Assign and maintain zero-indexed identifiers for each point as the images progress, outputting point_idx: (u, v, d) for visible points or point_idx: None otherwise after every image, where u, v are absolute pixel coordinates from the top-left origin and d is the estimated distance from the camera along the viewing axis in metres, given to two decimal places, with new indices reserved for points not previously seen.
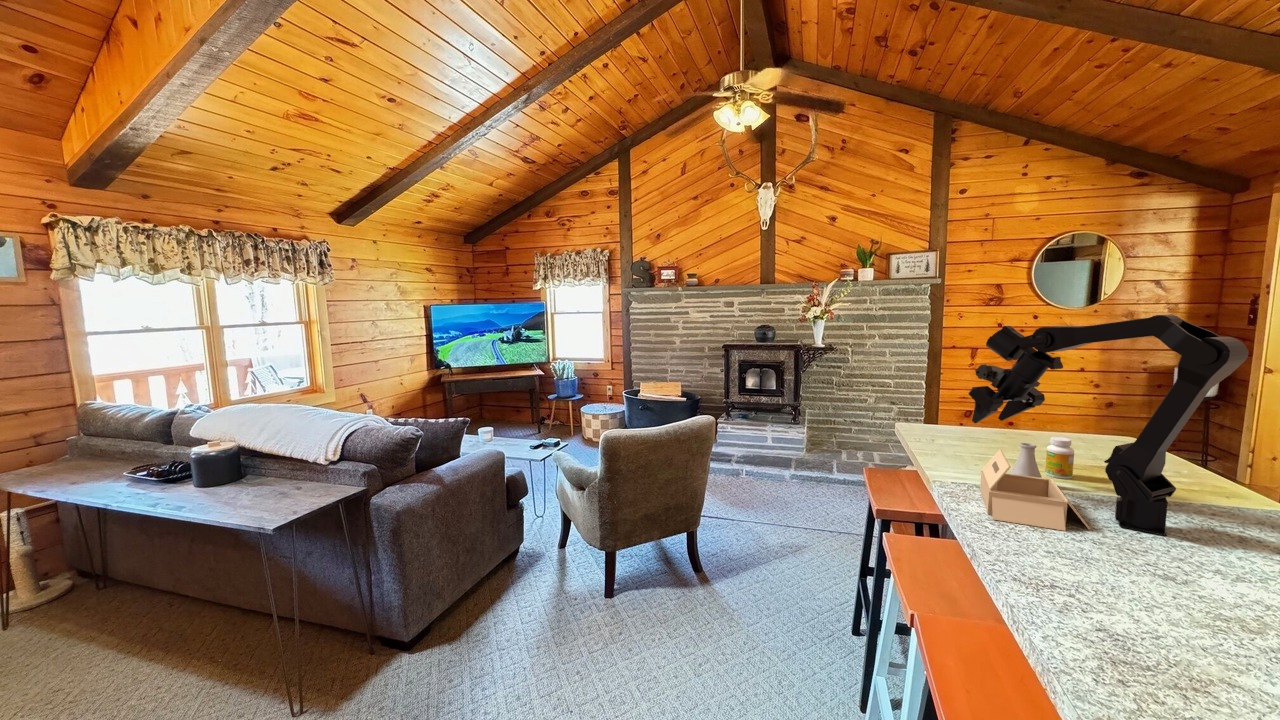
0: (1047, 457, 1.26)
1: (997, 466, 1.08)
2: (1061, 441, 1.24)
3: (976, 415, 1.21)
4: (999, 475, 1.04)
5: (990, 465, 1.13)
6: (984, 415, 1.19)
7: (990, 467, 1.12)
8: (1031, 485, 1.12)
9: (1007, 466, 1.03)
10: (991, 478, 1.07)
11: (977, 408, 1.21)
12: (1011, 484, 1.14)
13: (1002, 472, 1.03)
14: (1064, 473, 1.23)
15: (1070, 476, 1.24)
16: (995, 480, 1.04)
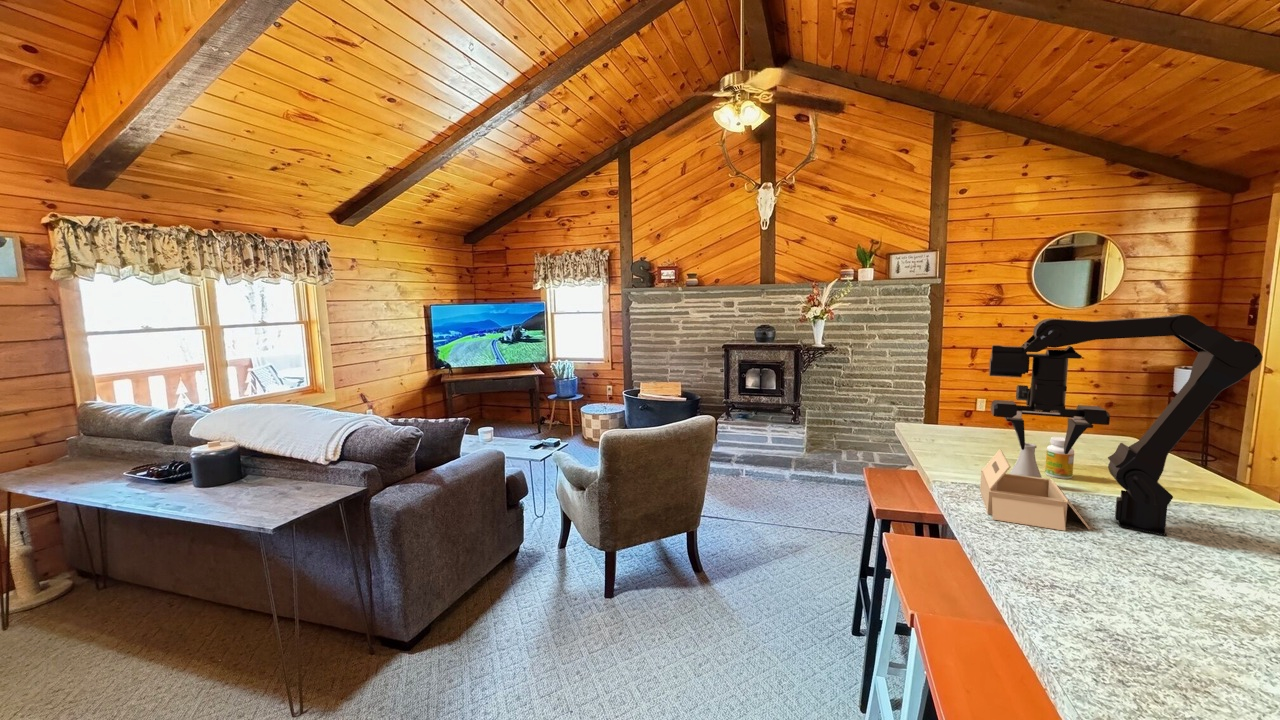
0: (1047, 457, 1.26)
1: (997, 466, 1.08)
2: (1061, 441, 1.24)
3: (1018, 438, 1.07)
4: (999, 475, 1.04)
5: (990, 465, 1.13)
6: (1017, 432, 1.05)
7: (990, 467, 1.12)
8: (1031, 485, 1.12)
9: (1007, 466, 1.03)
10: (991, 478, 1.07)
11: (1015, 429, 1.07)
12: (1011, 484, 1.14)
13: (1002, 472, 1.03)
14: (1064, 473, 1.23)
15: (1070, 476, 1.24)
16: (995, 480, 1.04)
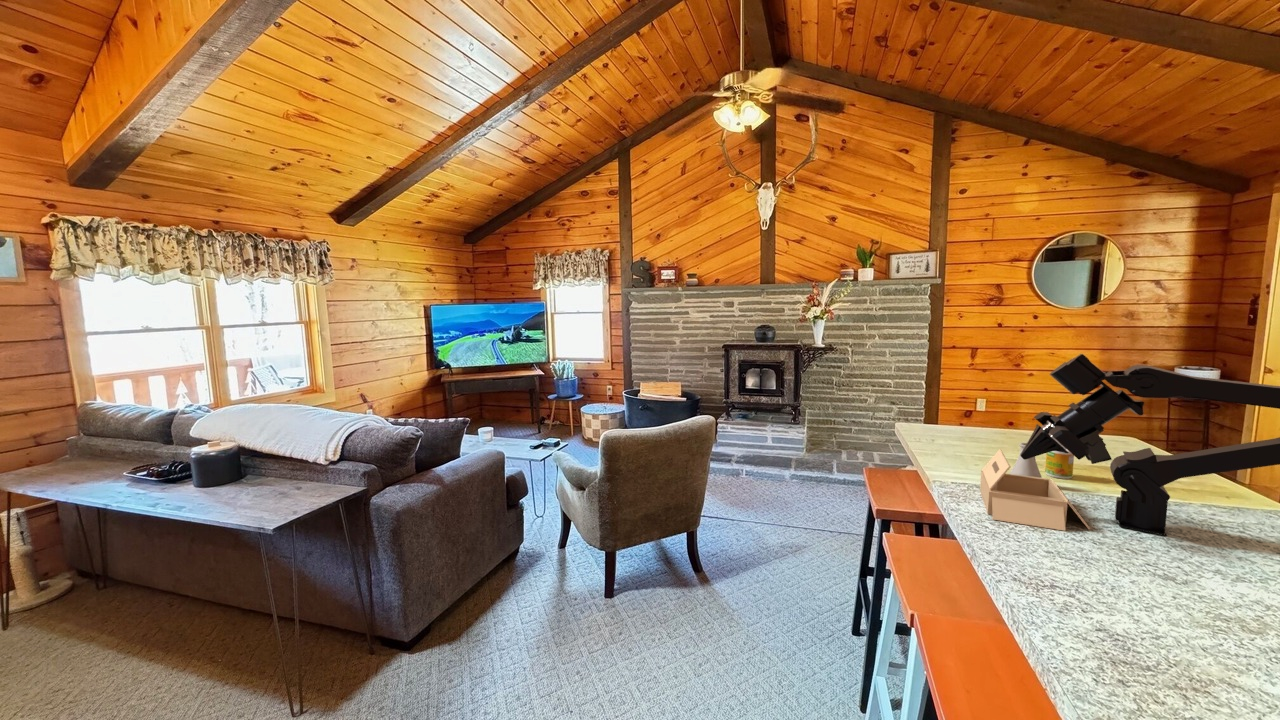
0: (1047, 457, 1.26)
1: (997, 466, 1.08)
2: None
3: None
4: (999, 475, 1.04)
5: (990, 465, 1.13)
6: None
7: (990, 467, 1.12)
8: (1031, 485, 1.12)
9: (1007, 466, 1.03)
10: (991, 478, 1.07)
11: None
12: (1011, 484, 1.14)
13: (1002, 472, 1.03)
14: (1064, 473, 1.23)
15: (1070, 476, 1.24)
16: (995, 480, 1.04)
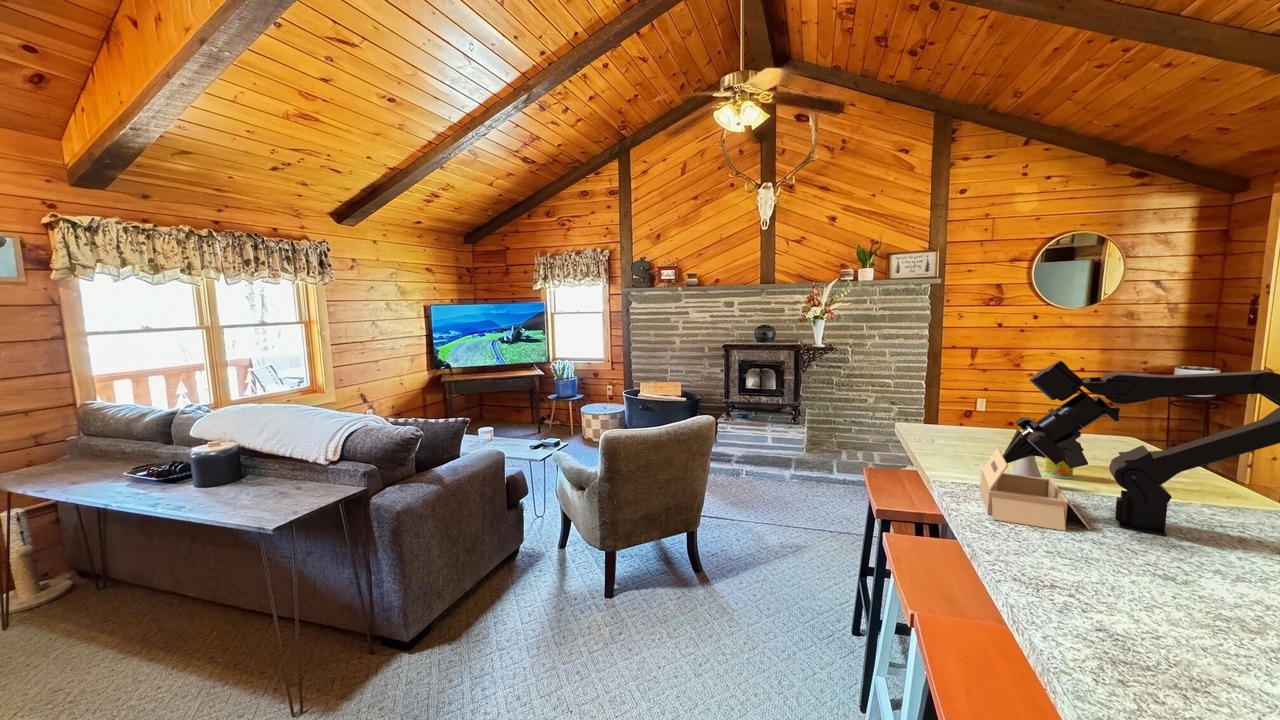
0: (1047, 457, 1.26)
1: (996, 465, 1.08)
2: None
3: None
4: (998, 474, 1.04)
5: (989, 465, 1.13)
6: None
7: (989, 467, 1.12)
8: (1031, 485, 1.12)
9: (1005, 465, 1.03)
10: (990, 478, 1.07)
11: None
12: (1011, 484, 1.14)
13: (1000, 471, 1.04)
14: (1064, 473, 1.23)
15: (1070, 476, 1.24)
16: (994, 480, 1.04)
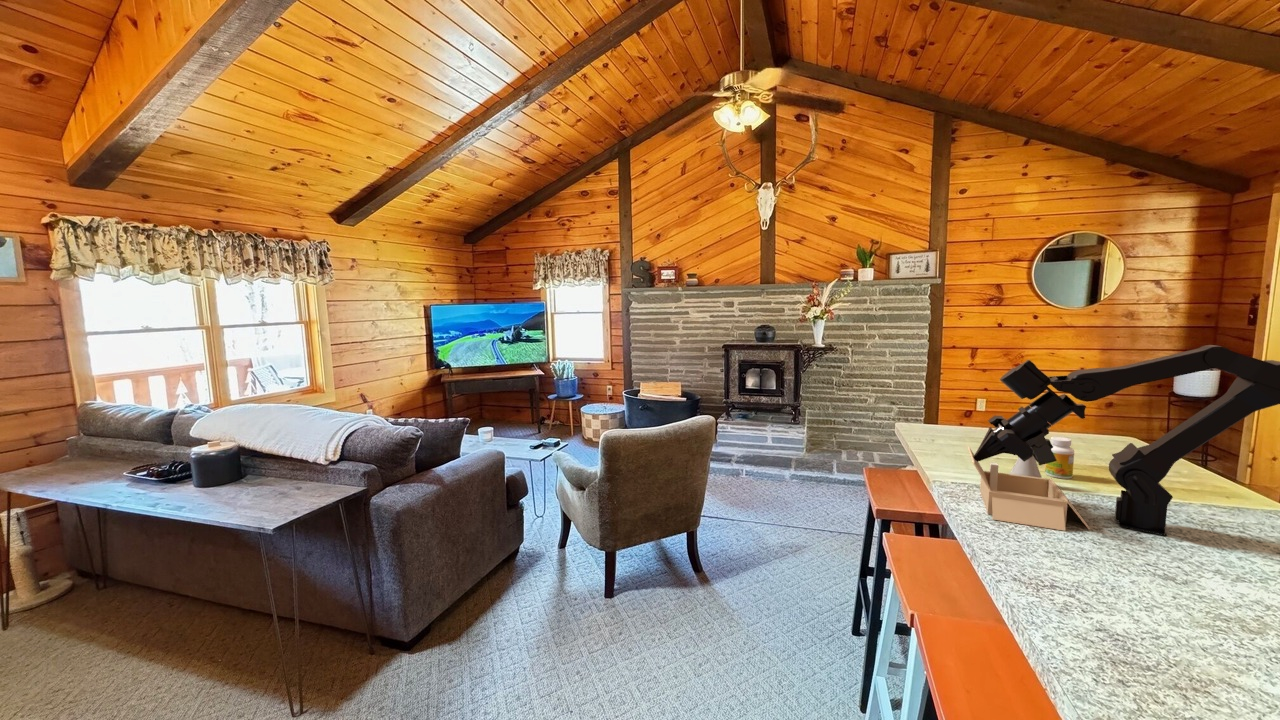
0: None
1: None
2: (1061, 441, 1.24)
3: None
4: (979, 473, 1.06)
5: (977, 464, 1.14)
6: None
7: (978, 466, 1.13)
8: (1031, 485, 1.12)
9: None
10: None
11: None
12: (1011, 484, 1.14)
13: None
14: (1064, 473, 1.23)
15: (1070, 476, 1.24)
16: (983, 479, 1.05)
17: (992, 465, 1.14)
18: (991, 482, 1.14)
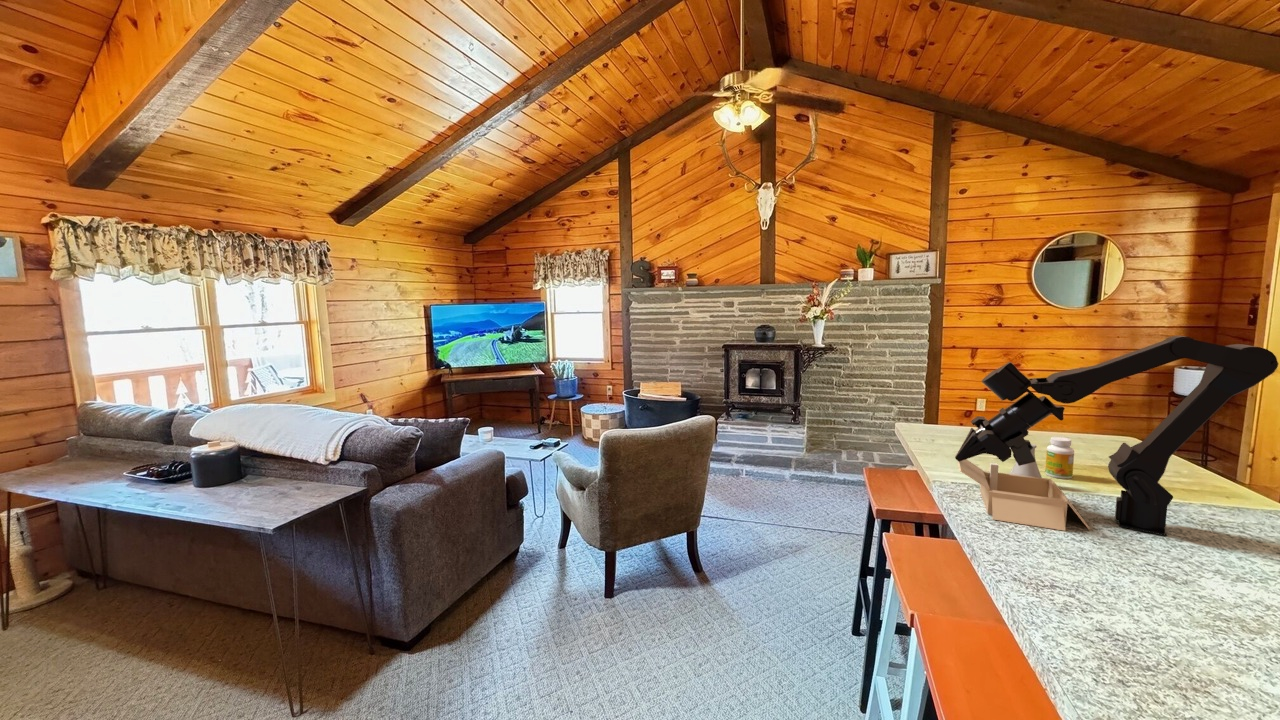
0: (1047, 457, 1.26)
1: None
2: (1061, 441, 1.24)
3: None
4: None
5: None
6: None
7: None
8: (1031, 485, 1.12)
9: None
10: None
11: None
12: (1011, 484, 1.14)
13: None
14: (1064, 473, 1.23)
15: (1070, 476, 1.24)
16: None
17: (992, 465, 1.14)
18: (991, 482, 1.14)
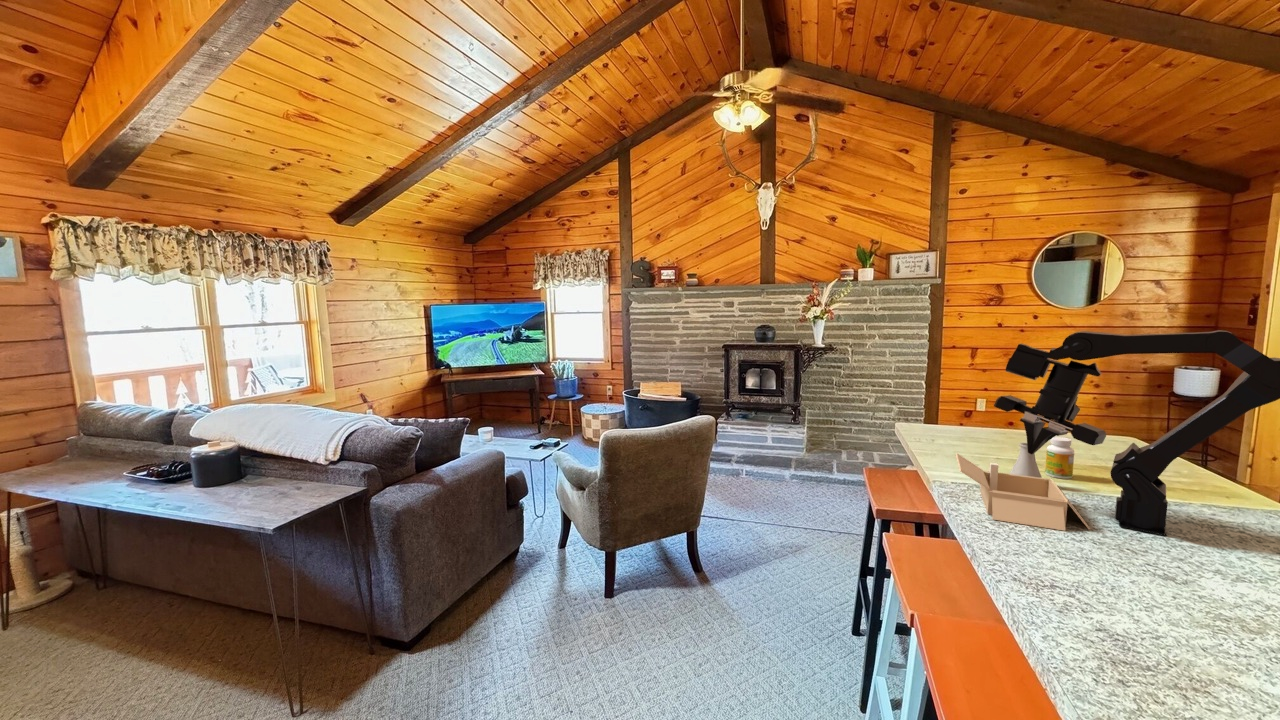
0: (1047, 457, 1.26)
1: None
2: (1061, 441, 1.24)
3: None
4: None
5: None
6: None
7: None
8: (1031, 485, 1.12)
9: None
10: None
11: None
12: (1011, 484, 1.14)
13: None
14: (1064, 473, 1.23)
15: (1070, 476, 1.24)
16: None
17: (992, 465, 1.14)
18: (991, 482, 1.14)
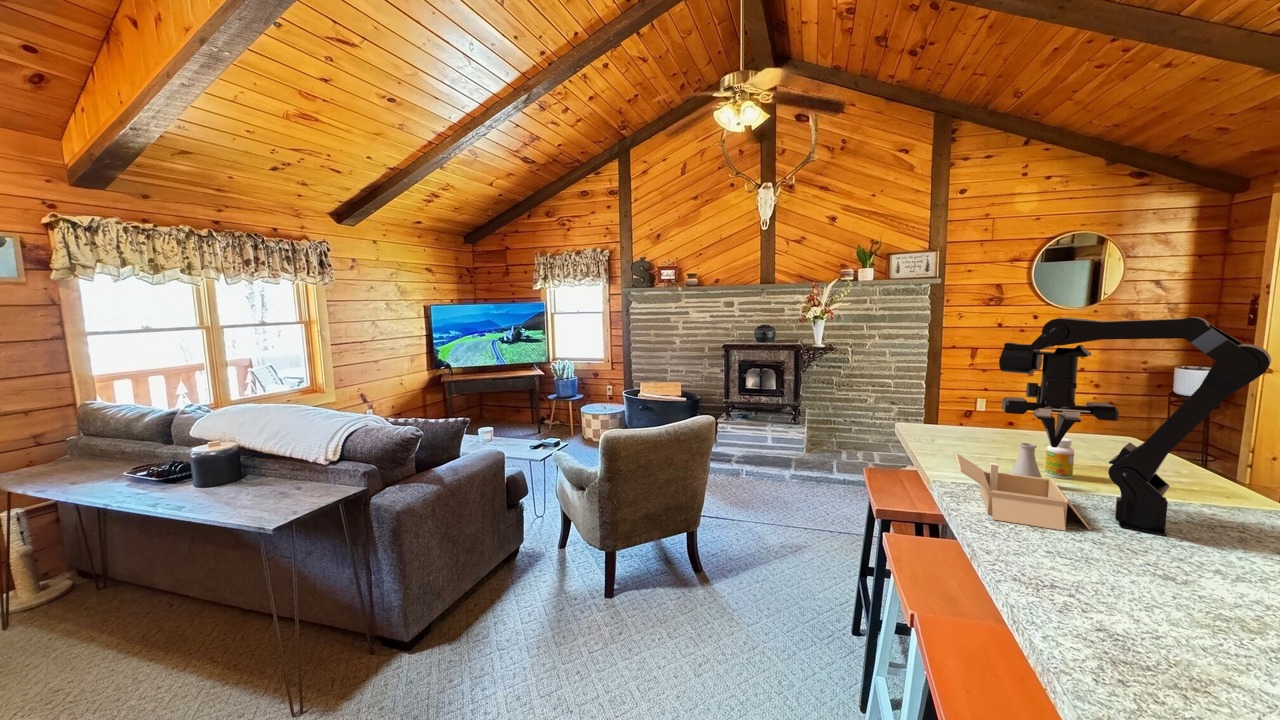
0: (1047, 457, 1.26)
1: None
2: (1061, 441, 1.24)
3: (1048, 435, 1.08)
4: None
5: None
6: (1047, 429, 1.06)
7: None
8: (1031, 485, 1.12)
9: None
10: None
11: (1045, 426, 1.08)
12: (1011, 484, 1.14)
13: None
14: (1064, 473, 1.23)
15: (1070, 476, 1.24)
16: None
17: (992, 465, 1.14)
18: (991, 482, 1.14)
